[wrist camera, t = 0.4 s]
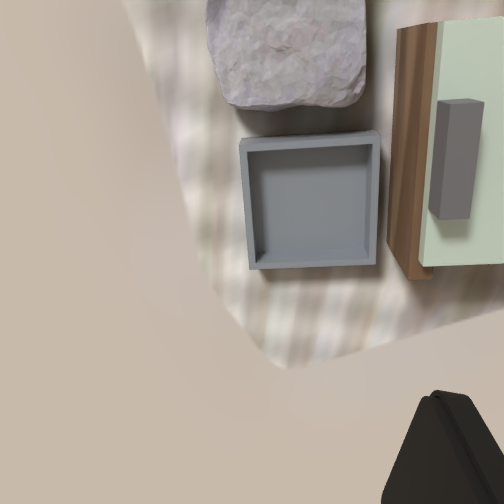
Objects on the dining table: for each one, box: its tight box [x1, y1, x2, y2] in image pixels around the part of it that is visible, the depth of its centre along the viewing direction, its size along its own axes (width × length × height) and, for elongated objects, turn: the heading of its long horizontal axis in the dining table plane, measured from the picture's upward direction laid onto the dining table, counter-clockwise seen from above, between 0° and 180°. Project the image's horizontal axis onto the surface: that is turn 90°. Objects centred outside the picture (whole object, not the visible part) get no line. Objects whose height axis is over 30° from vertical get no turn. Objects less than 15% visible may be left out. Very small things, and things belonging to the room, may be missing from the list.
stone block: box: [206, 0, 366, 112], centre depth 28 cm, size 12×5×10 cm
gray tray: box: [239, 130, 381, 270], centre depth 33 cm, size 9×9×2 cm
